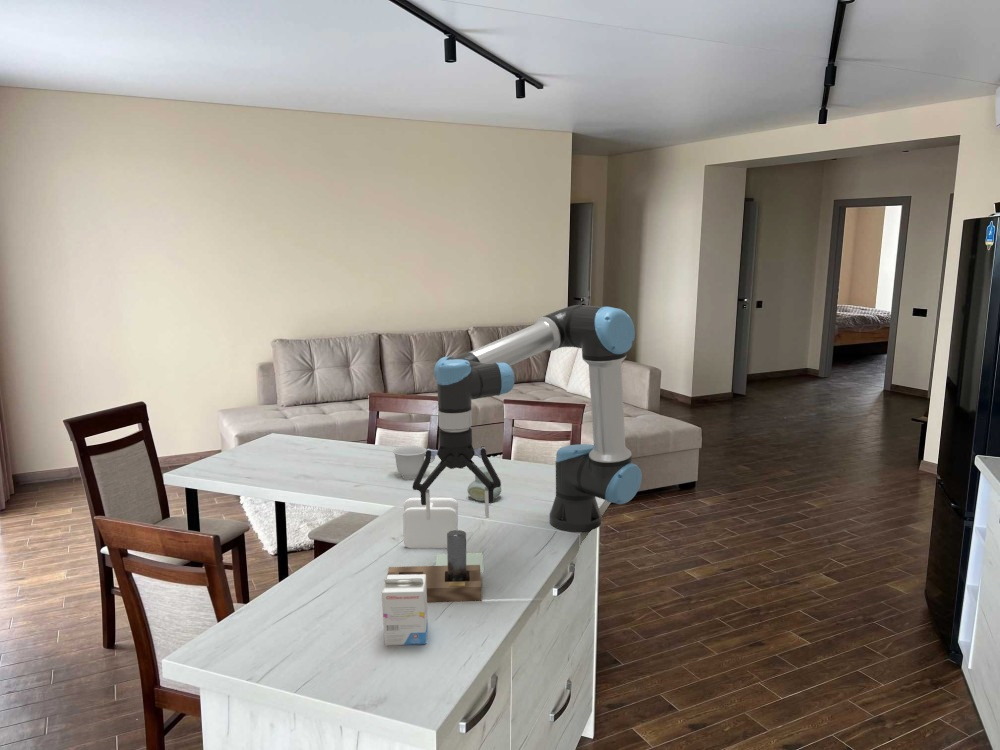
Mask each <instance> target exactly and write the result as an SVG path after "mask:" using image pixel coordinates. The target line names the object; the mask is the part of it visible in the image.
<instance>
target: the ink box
mask: <svg viewBox="0 0 1000 750" xmlns="http://www.w3.org/2000/svg"><path fill="white" fill-rule="evenodd" d="M383 581H384V585H383V588H382V592H381V602H382V620H383V622H382V623H383V645H384V646H404V645H405V646H407V645H411V646H412V645H426V644H427V636H428V627H429V626H428V623H429V622H428V620H429V619H428V603H427V589H426V574H413V575H387V574H386V578H385V579H383Z"/></svg>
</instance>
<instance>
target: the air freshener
mask: <svg viewBox="0 0 1000 750" xmlns="http://www.w3.org/2000/svg"><path fill="white" fill-rule="evenodd" d="M477 467H478V468H479V469H480V470H481V471H482V472H483V473H484V474H485V476H486V477H487V478H488V479H489V480H490V481H491V482H493V479H492V478H491V476H490V474H489V472H488V470H487V468H486V467H485V466H477ZM485 487H486V486H485V485H484V484H483V483H482V482H481V481H480V480H479V479H478V477H477V476H476V475H475V474H474V480H473V481H472V482H471V483H469V484H468V486H467V490H466V491H467V493H468V496H469V497H471V498H472V499H474V500H475V501H477V502H484V503H485ZM501 493H502V485H501V486H500V487H496V488H494V490H493V500H495V499H497V498H498V497H499V496H500V494H501Z"/></svg>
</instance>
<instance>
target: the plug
mask: <svg viewBox="0 0 1000 750" xmlns="http://www.w3.org/2000/svg"><path fill="white" fill-rule="evenodd" d="M466 553H467V532H466V531H465V530H464V531H463V530H461V529H460V530H459V529H458V530H453V531H450V532H448V533H447V548H446V554H447V564H448V582H458V581H466Z"/></svg>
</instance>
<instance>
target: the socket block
mask: <svg viewBox="0 0 1000 750" xmlns="http://www.w3.org/2000/svg"><path fill="white" fill-rule="evenodd" d="M413 574H426V589H427V604H428V603H430V604H431V603H432V604H433V603H434V604H435V603H465V602H466V603H467V602H468V603H469V602H482V578H481V577H482V576H481V575H482V573H480V565H466V581H458V582H448V566H436V565H422V566H420V565H418V566H388V570H387V574H386V576H387V575H413Z"/></svg>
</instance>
